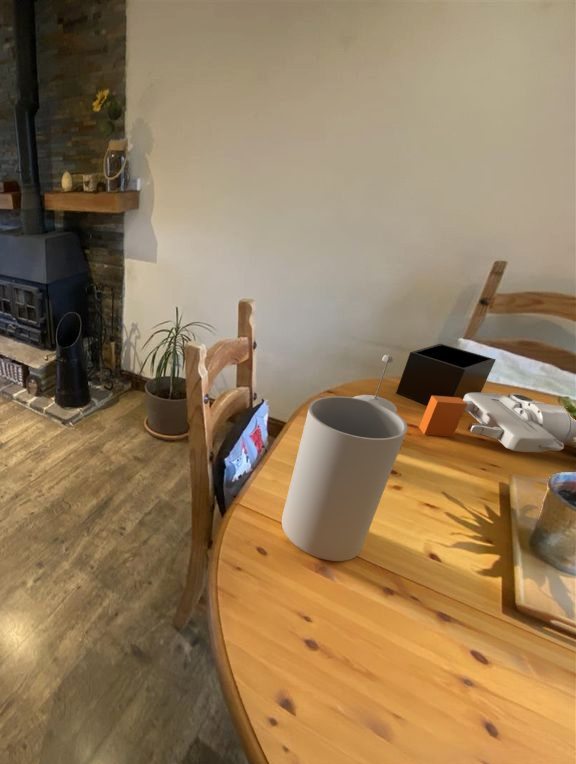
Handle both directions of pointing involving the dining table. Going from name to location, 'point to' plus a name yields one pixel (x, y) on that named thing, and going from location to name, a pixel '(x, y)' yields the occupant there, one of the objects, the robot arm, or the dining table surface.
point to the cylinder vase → (340, 475)
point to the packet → (442, 416)
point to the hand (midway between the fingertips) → (459, 416)
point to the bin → (443, 373)
